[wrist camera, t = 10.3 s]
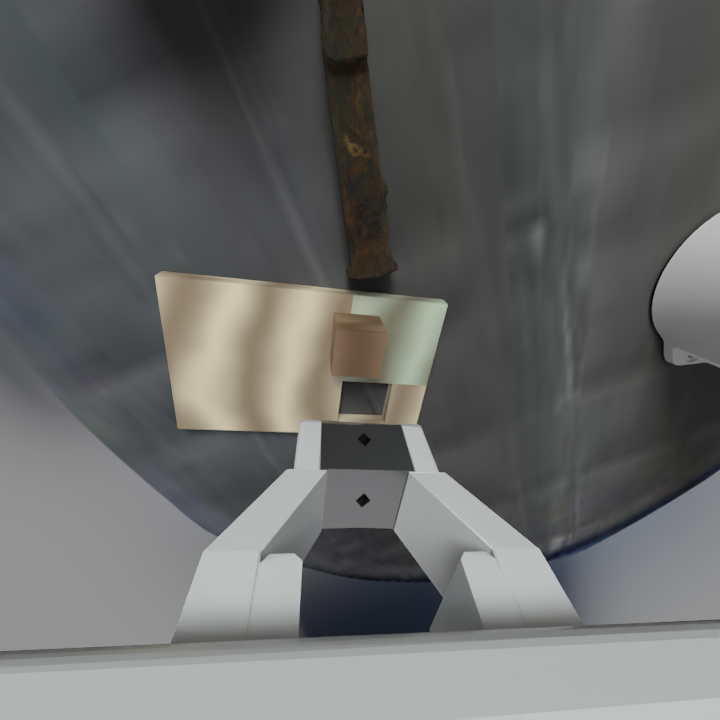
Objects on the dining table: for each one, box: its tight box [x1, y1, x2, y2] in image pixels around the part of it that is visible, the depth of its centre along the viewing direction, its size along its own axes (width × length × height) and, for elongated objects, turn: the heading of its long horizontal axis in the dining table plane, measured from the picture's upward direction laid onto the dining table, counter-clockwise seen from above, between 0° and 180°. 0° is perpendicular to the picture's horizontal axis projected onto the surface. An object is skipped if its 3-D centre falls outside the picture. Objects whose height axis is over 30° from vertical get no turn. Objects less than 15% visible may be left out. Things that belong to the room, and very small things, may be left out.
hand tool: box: [318, 0, 398, 280], centre depth 22 cm, size 19×4×5 cm, turn 6°
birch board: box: [155, 271, 448, 433], centre depth 31 cm, size 24×15×2 cm, turn 82°
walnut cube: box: [330, 312, 388, 378], centre depth 28 cm, size 4×4×4 cm
